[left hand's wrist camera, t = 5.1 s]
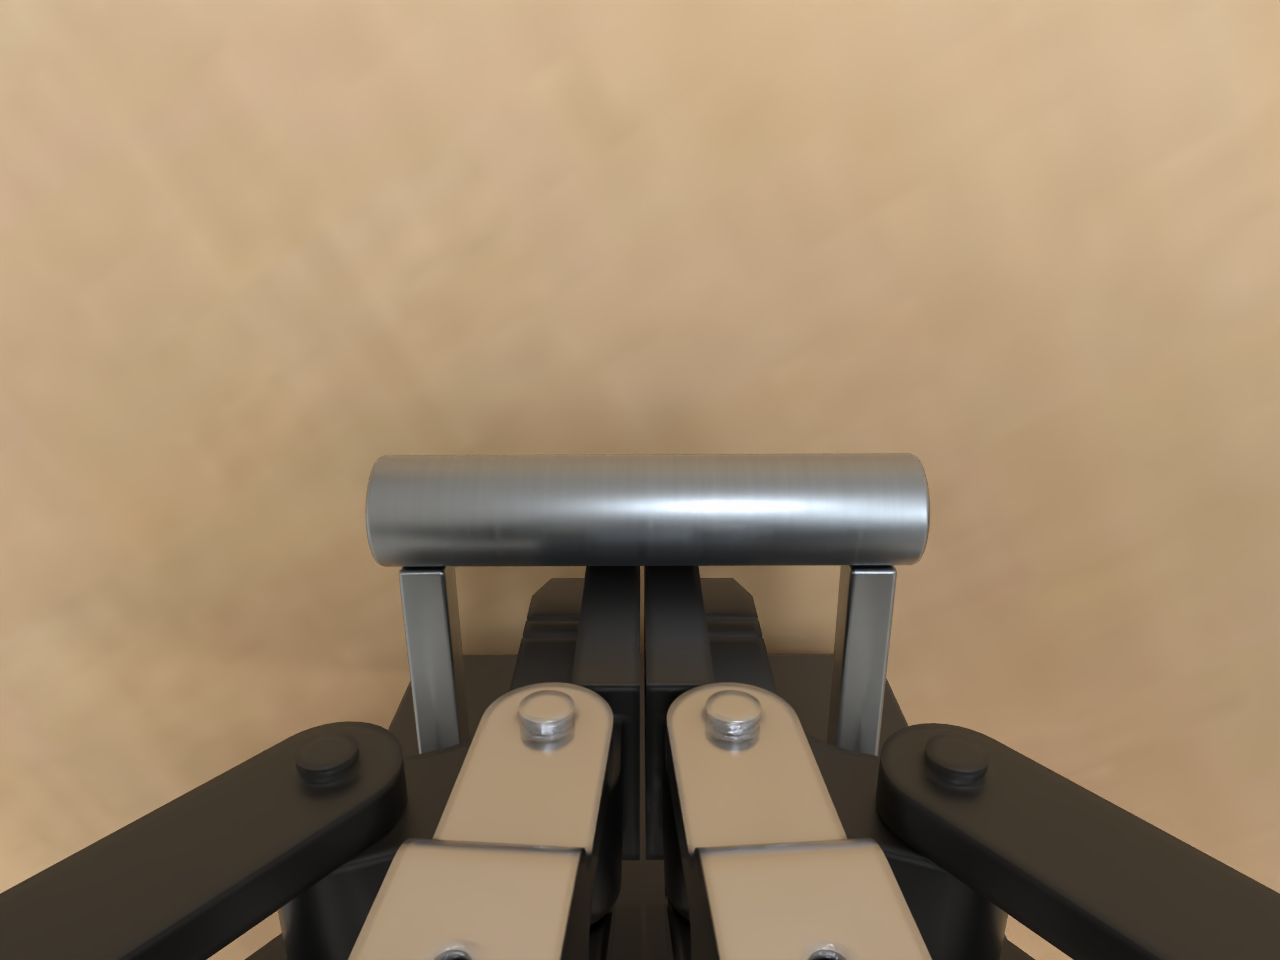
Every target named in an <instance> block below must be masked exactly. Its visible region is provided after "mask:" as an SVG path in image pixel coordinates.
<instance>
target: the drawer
mask: <svg viewBox="0 0 1280 960" xmlns="http://www.w3.org/2000/svg"><path fill="white" fill-rule="evenodd" d="M365 513H366V530H367V537H368V542H369V546H370V549H371V552H372V555H373V557H374V559H375V561H376V562H377V563H378V564H380V565H382V566H402V568H401V569H400V571H399V581H400V590H401V599H402V608H403V616H404V625H405V634H406V643H407V651H408V660H409V669H410V678H411V681H410V683H409V685H408V688H407V690H406V692H405V694H404V696H403V699H402V701H401V703H400V705H399V707H398V710H397V712H396V714H395V716H394V718H393V720H392V723H391V725H390V727H389V729H388V731H390V732H391V733H392V734H394V735H395V736H396V738H397V739H398V740H399V742H400V744H401V747H402V752H403V757H408V756H413V755H417V754H422V753H427V752H431V751H436V750H440V749H444V748H448V747H452V746H454V745H457V744H460V743H463V742H465V741H467V740H469V739H471V738H473V737H474V735H475V733H476V731H477V728H478V726H479V723H480V721H481V718H482V716H483V714H484V712H485V711H486V709H487V708H488V707H489V706H490V705H491V704H492V703H493V702H494V701H495V700H496V699H498V698H499V697H501V696H502V695H504V694H506V693H508V692H509V689H510V685H511V681H512V677H513V673H514V669H515V665H516V661H517V657H518V655H462V644H461V633H460V621H459V610H458V599H457V588H456V577H455V566H747V565H841V571H840V583H839V595H838V608H837V620H836V633H835V645H834V654H798V655H768V659H769V663H770V667H771V671H772V675H773V679H774V683H775V687H776V691H777V695H778V696H779V697H781V698H782V699H784V700H785V701H786V702H787V703H788V704H789V705H790V706H791V707H792V708H793V709H794V711H795V712H796V714H797V716H798V718H799V721H800V723H801V726H802V728H803V731H804V732H805V733H806V734H808V735H810V736H811V737H813V738H816V739H818V740H820V741H822V742H824V743H827V744H830V745H833V746H836V747H840V748H843V749H847V750H852V751H857V752H861V753H866V754H870V755H875V756H881V749H882V747H883V744H884V742H885V741H886V740H887V738H888V737H889V736H891V735H892V734H893V733H894V732H896V731H898V730H900V729H902V728H905V727H909V726H908V724H907V722H906V720H905V718H904V715H903V713H902V711H901V709H900V707H899V705H898V702H897V700H896V698H895V696H894V694H893V692H892V689H891V687H890V685H889V683H888V681H887V679H886V672H887V662H888V653H889V643H890V634H891V624H892V615H893V605H894V596H895V586H896V577H897V571H896V569H895V567H894V565H913V564H915V563H917V562H918V561H919V560H920V559H921V557H922V555H923V553H924V550H925V547H926V543H927V539H928V533H929V525H930V498H929V489H928V483H927V479H926V475H925V472H924V469H923V466H922V464H921V462H920V460H919V459H918V458H917V457H916V456H914V455H912V454H910V453H897V454H649V455H400V456H383V457H381V458H379V459H378V460H377V461H376V462H375V464H374V466H373V469H372V471H371V474H370V478H369V482H368V487H367V494H366V510H365ZM664 894H665V880H664V860H646V832H645V710H644V655H640V860H622V882H621V890H620V893H619V896H618V899H617V901H616V926H615V934H614V942H613V950H612V958H611V960H669V958H668V950H667V942H666V934H665V926H664ZM1004 938H1006V936H1005V934H1004ZM1006 939H1007V938H1006Z"/></svg>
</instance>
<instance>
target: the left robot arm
mask: <svg viewBox="0 0 1280 960" xmlns="http://www.w3.org/2000/svg"><path fill="white" fill-rule="evenodd" d="M644 710H645V832H646V860H664V880H665V894H664V926H665V934H666V942H667V950H668V958H669V960H1035V959H1034V958H1032V957H1031V956H1029V955H1028V954H1027V953H1025V952H1024V951H1022V950H1021V949H1020V948H1018V947H1017V946H1015V945H1014V944H1013V943H1011V942H1010V941H1008V940H1007V939H1006V938H1004V933H1005V928H1006V923H1007V918H1008V914H1009V915H1010V916H1012V917H1013V918H1014V919H1016V920H1017V921H1019V922H1020V923H1022V924H1023V925H1025V926H1026V927H1027V928H1029V929H1030V930H1032V931H1033V932H1035V933H1036V934H1038V935H1039V936H1040V937H1042V938H1043V939H1045V940H1046V941H1048V942H1049V943H1051V944H1052V945H1053V946H1055V947H1056V948H1058V949H1059V950H1061V951H1062V952H1063V953H1065V954H1066V955H1068V956H1069V957H1071V958H1072V959H1074V960H1280V894H1279V893H1277V892H1275V891H1274V890H1272V889H1270V888H1268V887H1266V886H1264V885H1263V884H1261V883H1259V882H1257V881H1255V880H1253V879H1251V878H1250V877H1248V876H1246V875H1244V874H1242V873H1240V872H1238V871H1237V870H1235V869H1233V868H1231V867H1229V866H1227V865H1226V864H1224V863H1222V862H1220V861H1218V860H1216V859H1214V858H1213V857H1211V856H1209V855H1207V854H1205V853H1203V852H1201V851H1200V850H1198V849H1196V848H1194V847H1192V846H1190V845H1189V844H1187V843H1185V842H1183V841H1181V840H1179V839H1177V838H1176V837H1174V836H1172V835H1170V834H1168V833H1166V832H1164V831H1163V830H1161V829H1159V828H1157V827H1155V826H1153V825H1152V824H1150V823H1148V822H1146V821H1144V820H1142V819H1140V818H1139V817H1137V816H1135V815H1133V814H1131V813H1129V812H1127V811H1126V810H1124V809H1122V808H1120V807H1118V806H1116V805H1115V804H1113V803H1111V802H1109V801H1107V800H1105V799H1103V798H1102V797H1100V796H1098V795H1096V794H1094V793H1092V792H1091V791H1089V790H1087V789H1085V788H1083V787H1081V786H1079V785H1078V784H1076V783H1074V782H1072V781H1070V780H1068V779H1066V778H1065V777H1063V776H1061V775H1059V774H1057V773H1055V772H1054V771H1052V770H1050V769H1048V768H1046V767H1044V766H1042V765H1041V764H1039V763H1037V762H1035V761H1033V760H1031V759H1029V758H1028V757H1026V756H1024V755H1022V754H1020V753H1018V752H1017V751H1015V750H1013V749H1011V748H1009V747H1007V746H1005V745H1004V744H1002V743H1000V742H998V741H996V740H994V739H992V738H990V737H988V736H986V735H984V734H981V733H979V732H976V731H973V730H970V729H967V728H963V727H959V726H954V725H948V724H936V723H931V724H918V725H912V726H909V727H905V728H902V729H900V730H898V731H896V732H894V733H893V734H892V735H891V736H889V737H888V738H887V740H886V741H885V742H884V744H883V747H882V749H881V756H875V755H870V754H866V753H861V752H857V751H852V750H847V749H843V748H840V747H836V746H833V745H830V744H827V743H824V742H822V741H820V740H818V739H816V738H813V737H811V736H810V735H808V734H806V733H805V732H804V731H803V728H802V726H801V723H800V721H799V718H798V716H797V714H796V712H795V711H794V709H793V708H792V707H791V706H790V705H789V704H788V703H787V702H786V701H785V700H784V699H782V698H781V697H779V696H778V695H777V691H776V687H775V683H774V679H773V675H772V671H771V667H770V663H769V659H768V655H767V651H766V648H765V644H764V640H763V638H762V632H761V628H760V624H759V621H758V616H757V612H756V608H755V604H754V601H753V597H752V595H751V594H750V593H748V592H747V591H746V590H745V589H744V588H743V587H742V586H741V585H740V584H739V583H737V582H736V581H735V580H734V579H733V578H700V575H699V568H698V566H644ZM622 860H640V566H586V573H585V578H552V579H550V580H549V581H548V582H547V583H546V584H545V585H544V586H543V587H542V588H541V589H540V590H538V591H537V592H536V593H535V594H534V595H533V596H532V599H531V603H530V608H529V612H528V616H527V621H526V624H525V628H524V632H523V638H522V640H521V644H520V648H519V652H518V657H517V661H516V665H515V669H514V673H513V677H512V681H511V685H510V689H509V692H508V693H506V694H504V695H502V696H501V697H499V698H498V699H496V700H495V701H494V702H493V703H492V704H491V705H490V706H489V707H488V708H487V709H486V711H485V712H484V714H483V716H482V718H481V721H480V723H479V726H478V728H477V731H476V733H475V735H474V737H473V738H471V739H469V740H467V741H465V742H463V743H460V744H457V745H454V746H452V747H448V748H444V749H440V750H436V751H431V752H427V753H422V754H417V755H413V756H408V757H403V752H402V747H401V744H400V742H399V740H398V739H397V738H396V736H395V735H394V734H392V733H391V732H390V731H388V730H387V729H384V728H382V727H380V726H377V725H374V724H370V723H364V722H337V723H331V724H325V725H321V726H317V727H314V728H311V729H308V730H305V731H302V732H300V733H298V734H296V735H294V736H291V737H289V738H288V739H286V740H284V741H282V742H280V743H278V744H276V745H275V746H273V747H271V748H269V749H267V750H265V751H263V752H262V753H260V754H258V755H256V756H254V757H252V758H251V759H249V760H247V761H245V762H243V763H241V764H239V765H238V766H236V767H234V768H232V769H230V770H228V771H227V772H225V773H223V774H221V775H219V776H217V777H215V778H214V779H212V780H210V781H208V782H206V783H204V784H202V785H201V786H199V787H197V788H195V789H193V790H191V791H190V792H188V793H186V794H184V795H182V796H180V797H178V798H177V799H175V800H173V801H171V802H169V803H167V804H165V805H164V806H162V807H160V808H158V809H156V810H154V811H153V812H151V813H149V814H147V815H145V816H143V817H141V818H140V819H138V820H136V821H134V822H132V823H130V824H128V825H127V826H125V827H123V828H121V829H119V830H117V831H116V832H114V833H112V834H110V835H108V836H106V837H104V838H103V839H101V840H99V841H97V842H95V843H93V844H91V845H90V846H88V847H86V848H84V849H82V850H80V851H79V852H77V853H75V854H73V855H71V856H69V857H67V858H66V859H64V860H62V861H60V862H58V863H56V864H55V865H53V866H51V867H49V868H47V869H45V870H43V871H42V872H40V873H38V874H36V875H34V876H32V877H30V878H29V879H27V880H25V881H23V882H21V883H19V884H18V885H16V886H14V887H12V888H10V889H8V890H6V891H5V892H3V893H1V894H0V960H206V959H208V958H209V957H211V956H212V955H214V954H215V953H217V952H218V951H219V950H221V949H222V948H224V947H225V946H227V945H228V944H230V943H231V942H232V941H234V940H235V939H237V938H238V937H240V936H241V935H242V934H244V933H245V932H247V931H248V930H250V929H251V928H253V927H254V926H255V925H257V924H258V923H260V922H261V921H263V920H264V919H266V918H267V917H268V916H270V915H271V914H273V913H274V912H276V911H277V910H278V914H279V919H280V925H281V930H282V933H281V934H280V935H279V936H277V937H276V938H274V939H273V940H272V941H270V942H269V943H267V944H266V945H265V946H263V947H262V948H260V949H259V950H258V951H256V952H255V953H253V954H252V955H251V956H249V957H248V958H247V959H245V960H611V958H612V950H613V942H614V934H615V926H616V901H617V899H618V896H619V893H620V890H621V882H622Z"/></svg>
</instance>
